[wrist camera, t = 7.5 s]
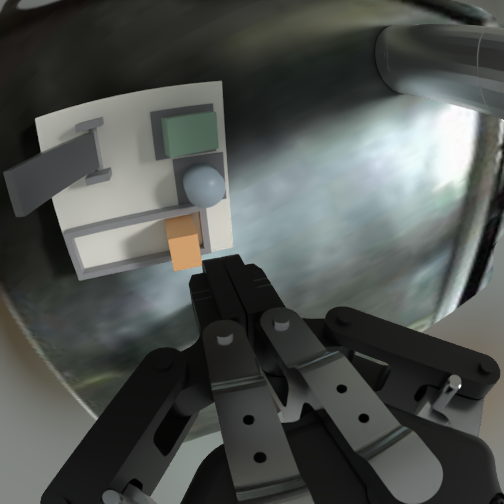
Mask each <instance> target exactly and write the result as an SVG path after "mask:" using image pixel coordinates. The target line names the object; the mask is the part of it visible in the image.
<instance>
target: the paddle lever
mask: <svg viewBox="0 0 504 504" xmlns="http://www.w3.org/2000/svg"><path fill="white" fill-rule="evenodd" d="M99 167H100V166H99V160H98V155H97V149H96V144H95V137H94V132H90V133H85V134H82V135H80V136H77V137H75V138H73V139H70V140H68V141H66V142H63V143H61V144H59V145H57V146H54V147H52V148H50V149H48V150H46V151H43V152H41V153H39V154H37V155H35V156H33V157H31V158H29V159H27V160H25V161H23V162H21V163H19V164H17V165H15V166H14V167H12V168H10V169H8V170H6V171H4V172H3V173H4V177H5V181H6V185H7V189H8V192H9V196H10V199H11V203H12V206H13V209H14V212H15V215H16V217H25V216H27V215H28V214H29V213H31V212H32V211H33V210H35V209H36V208H37V207H39V206H40V205H42V204H43V203H45V202H46V201H47V200H49V199H50V198H52V197H53V196H55V195H56V194H58V193H59V192H61V191H62V190H64V189H65V188H67V187H68V186H70V185H71V184H73V183H74V182H76V181H78V180H79V179H81V178H82V177H84V176H86V175H87V174H89V173H91V172H92V171H94V170H96V169H97V168H99Z"/></svg>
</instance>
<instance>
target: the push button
mask: <svg viewBox="0 0 504 504" xmlns="http://www.w3.org/2000/svg"><path fill="white" fill-rule="evenodd" d="M183 187H184V189H185V192H186V194H187V197H188V199H189V200H190V202H191V203H192V204H193V205H195V206H197V207H200V208H209V207H212V206H214V205H216V204H217V203H219V202H220V201H221V199H222V198H223V196H224V194H225V190H226V185H225V181H224V179H223V177H222V176H221V175H220V174H219V173H218V171H217V170H216V169H215V168H214V167H213V166H211V165H210V164H207V163H197V164H194V165H192V166H191V167H190V168H188V170H187V171H186V172H185V174H184V177H183Z"/></svg>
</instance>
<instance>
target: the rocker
mask: <svg viewBox="0 0 504 504" xmlns="http://www.w3.org/2000/svg"><path fill="white" fill-rule="evenodd" d="M161 123H162V132H163V141H164V149H165V155H167V156H168V157H170V158H173V157H178V156H182V155H187V154H192V153H197V152H202V151H207V150H212V149H218V148H219V145H218V131H217V116H216V112H212V111H205V112H198V113H191V114H184V115H178V116H172V117H167V118H161Z"/></svg>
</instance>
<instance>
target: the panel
mask: <svg viewBox="0 0 504 504" xmlns="http://www.w3.org/2000/svg"><path fill="white" fill-rule="evenodd" d="M205 111H212V112H216V116H217V131H218V145H219V148H218V149H212V150H207V151H202V152H197V153H192V154H187V155H182V156H178V157H173V158H170V157H168V156H167V155H165V149H164V141H163V132H162V123H161V118H167V117H172V116H178V115H184V114H191V113H198V112H205ZM35 121H36V127H37V133H38V139H39V144H40V150H41V152H43V151H46V150H48V149H50V148H52V147H54V146H57V145H59V144H61V143H63V142H66V141H68V140H70V139H73V138H75V137H77V136H80V135H82V134H85V133H90V132H94V137H95V144H96V149H97V155H98V160H99V166H100V167H99V168H97V169H96V170H94V171H92V172H91V173H89V174H87V175H86V176H84V177H82V178H81V179H79V180H78V181H76V182H74V183H73V184H71V185H70V186H68V187H67V188H65V189H64V190H62V191H61V192H59V193H58V194H56V195H55V196H53V197H52V200H53V204H54V207H55V211H56V214H57V217H58V221H59V224H60V227H61V230H62V233H63V236H64V239H65V242H66V245H67V248H68V251H69V254H70V257H71V259H72V262H73V265H74V268H75V270H76V273H77V275H78V278H79V280H85V279H89V278H94V277H99V276H103V275H108V274H113V273H117V272H122V271H127V270H132V269H136V268H141V267H146V266H151V265H155V264H160V263H165V262H170V261H172V258H171V253H170V248H169V243H168V238H167V232H166V227H165V221H164V219H168V218H173V217H179V216H184V215H189V214H190V215H191V218H192V220H193V223H194V226H195V228H196V231H197V233H198V240H199V247H200V254H201V255H203V254H208V253H211V252H213V251H218V250H222V249H227V248H232V247H233V238H232V225H231V212H230V199H229V185H228V171H227V156H226V141H225V126H224V109H223V92H222V81H214V82H203V83H193V84H185V85H177V86H169V87H162V88H156V89H150V90H144V91H138V92H133V93H128V94H123V95H118V96H113V97H109V98H105V99H100V100H96V101H92V102H88V103H84V104H81V105H77V106H73V107H70V108H66V109H63V110H60V111H56V112H53V113H50V114H47V115H44V116H41V117H38V118H35ZM197 163H207V164H210V165H211V166H213V167H214V168H215V169H216V170H217V171H218V173H219V174H220V175H221V176H222V177H223V179H224V181H225V185H226V190H225V194H224V196H223V198H222V199H221V201H220V202H219V203H217V204H216V205H214V206H212V207H209V208H200V207H197V206H195V205H193V204H192V203H191V202H190V200H189V199H188V197H187V194H186V192H185V189H184V187H183V177H184V174H185V172H186V171H187V170H188V168H190V167H191V166H192V165H194V164H197Z"/></svg>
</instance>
